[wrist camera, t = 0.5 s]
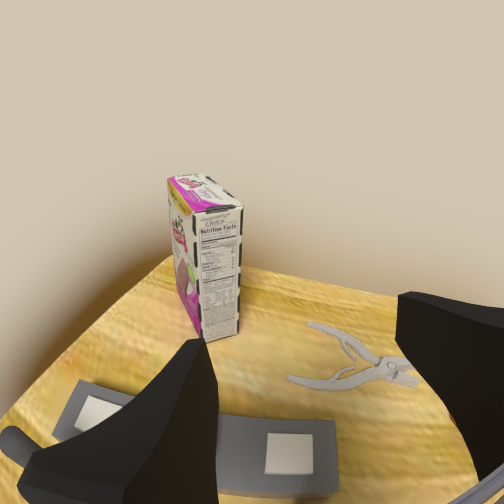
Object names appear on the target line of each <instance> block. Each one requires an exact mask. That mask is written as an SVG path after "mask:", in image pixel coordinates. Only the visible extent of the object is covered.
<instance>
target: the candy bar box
mask: <svg viewBox="0 0 504 504" xmlns="http://www.w3.org/2000/svg"><path fill="white" fill-rule="evenodd" d="M167 182H168V201H169V214H170V225H171V236H172V246H173V256H174V266H175V275H176V284H177V291H178V293H179V295H180V297H181V300H182V302H183V304H184V306H185V308H186V310H187V313H188V315H189V317H190V319H191V321H192V323H193V325H194V328H195V330H196V332H197V334H198V336H199V338H204V339H205V342H206V343H210V342H213V341H216V340H219V339H222V338H226V337H230V336H233V335H237V334H239V306H240V278H241V253H242V223H243V208H244V205H243V204H242V203H240V202H239V201H238V200H237V199H235V198H234V197H233V196H232V195H231V194H229V193H228V192H227V191H226V190H224V189H223V188H222V187H221V186H219V185H218V184H217V183H216V182H215V181H214V180H212V179H211V178H210V177H209V176H207V175H206V174H194V175H184V176H174V177H170V178H168V179H167Z"/></svg>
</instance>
